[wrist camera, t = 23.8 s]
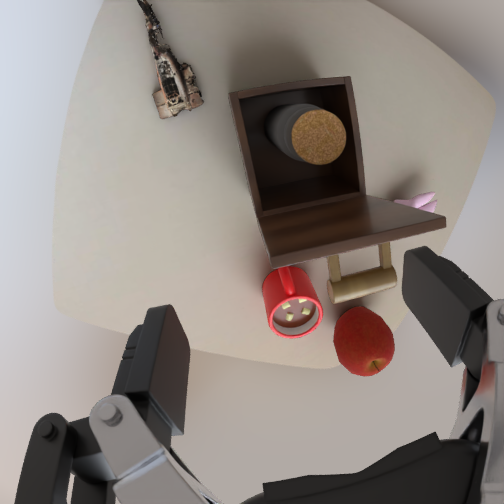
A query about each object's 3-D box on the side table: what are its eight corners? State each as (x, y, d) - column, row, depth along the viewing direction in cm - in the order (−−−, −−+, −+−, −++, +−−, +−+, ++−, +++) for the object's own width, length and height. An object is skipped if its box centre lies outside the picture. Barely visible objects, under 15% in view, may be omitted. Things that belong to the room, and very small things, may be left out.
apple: (332, 294, 50) (360, 351, 37) (382, 293, 51) (417, 344, 38) (319, 339, 54) (339, 396, 42) (366, 336, 55) (392, 388, 43)
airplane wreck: (165, -10, 26) (157, -24, 22) (205, 105, 35) (201, 105, 30) (125, 7, 27) (111, -4, 22) (163, 121, 35) (153, 123, 30)
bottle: (254, 118, 35) (271, 123, 22) (294, 96, 34) (333, 91, 21) (277, 156, 38) (306, 184, 25) (315, 135, 37) (363, 152, 24)
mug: (298, 236, 44) (311, 262, 37) (314, 298, 50) (327, 328, 43) (247, 253, 45) (251, 281, 38) (269, 312, 50) (276, 345, 43)
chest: (228, 97, 35) (228, 93, 26) (322, 82, 34) (350, 76, 26) (250, 194, 41) (257, 219, 32) (337, 177, 41) (366, 197, 32)
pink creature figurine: (358, 245, 47) (435, 208, 43) (367, 266, 42) (452, 225, 38) (345, 214, 45) (426, 175, 40) (353, 232, 40) (444, 189, 35)
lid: (269, 257, 18) (284, 330, 19) (446, 216, 17) (446, 283, 19) (256, 217, 32) (266, 263, 33) (367, 194, 31) (373, 238, 33)
